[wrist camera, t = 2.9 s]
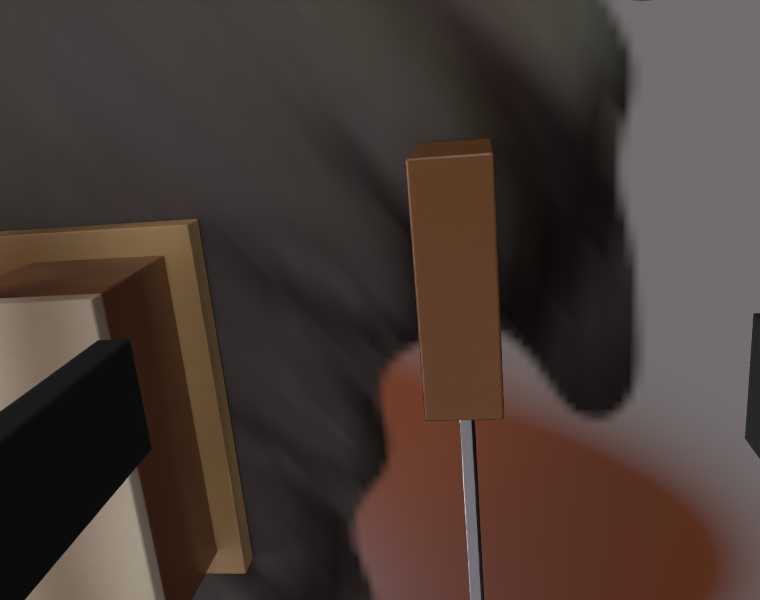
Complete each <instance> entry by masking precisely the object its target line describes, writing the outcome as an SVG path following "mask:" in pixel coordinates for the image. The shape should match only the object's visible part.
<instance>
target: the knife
mask: <svg viewBox="0 0 760 600" xmlns="http://www.w3.org/2000/svg"><path fill="white" fill-rule="evenodd" d="M406 174H407V187H408V200H409V214H410V227H411V240H412V253H413V267H414V280H415V293H416V307H417V320H418V333H419V346H420V360H421V373H422V386H423V400H424V413H425V419H426V420H427V421H447V420H448V421H449V420H450V421H452V420H459V422H460V439H461V455H462V472H463V488H464V506H465V522H466V539H467V556H468V572H469V589H470V600H484V589H483V570H482V551H481V532H480V513H479V496H478V476H477V457H476V437H475V420H499V419H503V418H504V399H503V376H502V375H503V374H502V350H501V323H500V298H499V273H498V247H497V222H496V197H495V171H494V153H493V148H492V142H491V139H489V138H486V139H473V140H459V141H446V142H433V143H420V144H417V146H416V147H415V148H414V150H413V151H412V152H411V154H410V155H409V156H408V157H407V159H406Z"/></svg>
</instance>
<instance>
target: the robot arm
mask: <svg viewBox="0 0 760 600" xmlns="http://www.w3.org/2000/svg"><path fill="white" fill-rule="evenodd" d="M750 360H751V361H750V374H749V388H748V405H747V418H746V432H745V433H746V434H745V439H746V440H747V442H748V443H749V444H750V446H751V447H752V449H753V450H754V451H755V453H756V454H757V455H758V457H759V458H760V313H759V314H758V313H756V314H754V316H753V330H752V345H751V359H750ZM151 449H152V447H151V442H150V437H149V432H148V427H147V422H146V417H145V412H144V407H143V402H142V397H141V392H140V387H139V382H138V377H137V372H136V367H135V362H134V357H133V352H132V347H131V342H130V339H116V340H97V341H96V342H95V343H93V344H92V345H91V346H89V347H88V348H86V349H85V350H84V351H82V352H81V353H80V354H78V355H77V356H76V357H74V358H73V359H71V360H70V361H69V362H67V363H66V364H65V365H63V366H62V367H60V368H59V369H58V370H56V371H55V372H54V373H52V374H51V375H49V376H48V377H47V378H45V379H44V380H43V381H41V382H40V383H38V384H37V385H36V386H34V387H33V388H32V389H30V390H29V391H27V392H26V393H25V394H23V395H22V396H21V397H19V398H18V399H16V400H15V401H14V402H12V403H11V404H10V405H8V406H7V407H5V408H4V409H3V410H1V411H0V600H25V599H26V598H27V597H28V596H29V594H30V593H31V592H32V591H33V590H34V588H35V587H36V586H37V585H38V584H39V583H40V581H41V580H42V579H43V578H44V577H45V575H46V574H47V573H48V572H49V571H50V569H51V568H52V567H53V566H54V565H55V564H56V562H57V561H58V560H59V559H60V558H61V556H62V555H63V554H64V553H65V552H66V550H67V549H68V548H69V547H70V546H71V545H72V543H73V542H74V541H75V540H76V539H77V537H78V536H79V535H80V534H81V533H82V531H83V530H84V529H85V528H86V527H87V525H88V524H89V523H90V522H91V521H92V520H93V518H94V517H95V516H96V515H97V514H98V512H99V511H100V510H101V509H102V508H103V506H104V505H105V504H106V503H107V502H108V501H109V499H110V498H111V497H112V496H113V495H114V493H115V492H116V491H117V490H118V489H119V487H120V486H121V485H122V484H123V483H124V482H125V480H126V479H127V478H128V477H129V476H130V474H131V473H132V472H133V471H134V470H135V468H136V467H137V466H138V465H139V464H140V463H141V461H142V460H143V459H144V458H145V457H146V455H147V454H148V453H149V452H150V451H151Z"/></svg>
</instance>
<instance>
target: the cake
mask: <svg viewBox="0 0 760 600" xmlns="http://www.w3.org/2000/svg"><path fill="white" fill-rule="evenodd" d="M116 339H130V342H131V347H132V352H133V357H134V362H135V367H136V372H137V377H138V382H139V387H140V392H141V397H142V402H143V407H144V412H145V417H146V422H147V427H148V432H149V437H150V442H151V447H152V449H151V451H150V452H149V453H148V454H147V455H146V457H145V458H144V459H143V460H142V461H141V463H140V464H139V465H138V466H137V467H136V468H135V470H134V471H133V472H132V473H131V474H130V476H129V477H128V478H127V479H126V480H125V482H124V483H123V484H122V485H121V486H120V487H119V489H118V490H117V491H116V492H115V493H114V495H113V496H112V497H111V498H110V499H109V501H108V502H107V503H106V504H105V505H104V506H103V508H102V509H101V510H100V511H99V512H98V514H97V515H96V516H95V517H94V518H93V520H92V521H91V522H90V523H89V524H88V525H87V527H86V528H85V529H84V530H83V531H82V533H81V534H80V535H79V536H78V537H77V539H76V540H75V541H74V542H73V543H72V545H71V546H70V547H69V548H68V549H67V550H66V552H65V553H64V554H63V555H62V556H61V558H60V559H59V560H58V561H57V562H56V564H55V565H54V566H53V567H52V568H51V569H50V571H49V572H48V573H47V574H46V575H45V577H44V578H43V579H42V580H41V581H40V583H39V584H38V585H37V586H36V587H35V588H34V590H33V591H32V592H31V593H30V594H29V596H28V597H27V598H26V599H25V600H192V598H193V596H194V595H195V593H196V591H197V589H198V587H199V585H200V583H201V581H202V580H203V578H204V576H205V574H206V573H232V574H245V573H246V572H247V570H248V568H249V565H250V563H251V561H252V559H253V555H252V549H251V543H250V537H249V531H248V524H247V518H246V512H245V506H244V500H243V494H242V488H241V482H240V475H239V469H238V463H237V457H236V451H235V445H234V439H233V432H232V426H231V420H230V414H229V408H228V402H227V396H226V389H225V383H224V377H223V371H222V365H221V359H220V353H219V347H218V340H217V334H216V328H215V322H214V316H213V310H212V304H211V297H210V291H209V285H208V279H207V273H206V267H205V261H204V254H203V248H202V242H201V236H200V230H199V224H198V219H186V220H171V221H155V222H139V223H123V224H108V225H92V226H76V227H60V228H45V229H29V230H13V231H0V411H1V410H3V409H4V408H5V407H7V406H8V405H10V404H11V403H12V402H14V401H15V400H16V399H18V398H19V397H21V396H22V395H23V394H25V393H26V392H27V391H29V390H30V389H32V388H33V387H34V386H36V385H37V384H38V383H40V382H41V381H43V380H44V379H45V378H47V377H48V376H49V375H51V374H52V373H54V372H55V371H56V370H58V369H59V368H60V367H62V366H63V365H65V364H66V363H67V362H69V361H70V360H71V359H73V358H74V357H76V356H77V355H78V354H80V353H81V352H82V351H84V350H85V349H86V348H88V347H89V346H91V345H92V344H93V343H95V342H96V341H97V340H116Z"/></svg>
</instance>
